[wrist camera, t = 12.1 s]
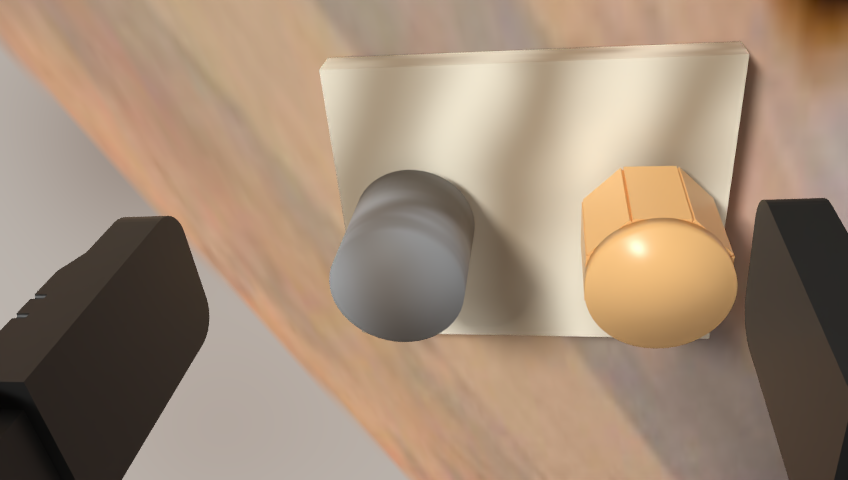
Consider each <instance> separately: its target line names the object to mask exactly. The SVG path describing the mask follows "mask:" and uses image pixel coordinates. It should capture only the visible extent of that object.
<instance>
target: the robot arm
mask: <svg viewBox="0 0 848 480" xmlns="http://www.w3.org/2000/svg"><path fill="white" fill-rule="evenodd" d="M208 326H209V308H208V302H207V298H206V296H205V292H204V290H203V287H202V284H201V281H200V278H199V275H198V272H197V269H196V266H195V263H194V260H193V257H192V254H191V251H190V248H189V245H188V242H187V239H186V236H185V233H184V231H183V228H182V226H181V224H180V223H179V222H178V220H176V219H175V218H174V217H172V216H152V217H123V218H120V219H118V220H117V221H116V222H114V223H113V225H112V226H111V227H110V228H109V229H108V230H107V231H106V232H105V233H104V234H103V235H102V236H101V237H100V238H99V240H98V241H97V242H96V243H95V244H94V245H93V246H92V247H91V248H90V249H89V250H88V251H87V252H86V253H85V254H83V255H82V256H80V257H78V258H77V259H75V260H74V261H72V262H71V263H69V264H68V265H66V266H64V267H63V268H61V269H60V270H58V271H57V272H56V273H55V274H54V275H53V276H52V277H51V278H50V279H49V280H48V281H47V283H46V284H44V285H43V286H42V287H41V289H40V290H39V291H38V292H37V293H36V294H35V299H30V300H29V301H28V302H27V303H26V304H25V305H24V306H23V307H22V308H21V309H20V311H19V312H18V313H17V318H14V319H11V320H10V321H9V322H8V323H7V324H6V325H5V326H4V327H3V328H2V330H0V480H122V478H123V477H124V475H125V473H126V472H127V470H128V468H129V466H130V465H131V463H132V462H133V460H134V458H135V456H136V455H137V453H138V451H139V450H140V448H141V446H142V445H143V443H144V442H145V440H146V438H147V437H148V435H149V433H150V431H151V430H152V428H153V427H154V425H155V423H156V422H157V420H158V418H159V417H160V415H161V413H162V412H163V410H164V408H165V406H166V405H167V403H168V401H169V400H170V398H171V396H172V395H173V393H174V391H175V390H176V388H177V386H178V385H179V383H180V381H181V380H182V378H183V376H184V375H185V373H186V371H187V370H188V368H189V366H190V364H191V363H192V361H193V360H194V358H195V356H196V354H197V353H198V351H199V350H200V348H201V346H202V345H203V343H204V341H205V338H206V335H207V332H208ZM745 327H746V335H747V341H748V346H749V349H750V353H751V356H752V359H753V363H754V366H755V369H756V373H757V376H758V379H759V382H760V386H761V389H762V392H763V396H764V399H765V402H766V405H767V409H768V412H769V415H770V419H771V422H772V425H773V428H774V432H775V435H776V438H777V442H778V445H779V448H780V451H781V455H782V458H783V461H784V465H785V468H786V471H787V474H788V478H789V480H848V233H847V231H846V229H845V227H844V226H843V224H842V222H841V220H840V219H839V217H838V215H837V213H836V212H835V210H834V208H833V206H832V205H831V203H830V202H829V200H827V199H825V198H811V199H777V200H762V201H761V202H760V203H759V205H758V208H757V212H756V217H755V225H754V233H753V241H752V249H751V257H750V265H749V274H748V282H747V290H746V299H745Z"/></svg>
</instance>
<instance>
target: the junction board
mask: <svg viewBox="0 0 848 480" xmlns="http://www.w3.org/2000/svg"><path fill="white" fill-rule="evenodd" d="M748 60H749V53H748V51H747V50H746V48H745V47H744V45H743V44H742V42H716V43H690V44H665V45H640V46H615V47H590V48H564V49H539V50H514V51H489V52H463V53H438V54H413V55H388V56H363V57H337V58H327V60H326V61H325V63H324V64H323V65H322V67H321V68H320V70H319V72H320V78H321V84H322V90H323V96H324V102H325V108H326V114H327V120H328V126H329V132H330V139H331V145H332V151H333V157H334V163H335V169H336V175H337V181H338V187H339V193H340V199H341V205H342V212H343V218H344V224H345V230H346V233H345V235H344V237H343V240H342V242H341V245H340V247H339V249H338V252H337V254H336V257H335V259H334V261H333V264H332V266H331V271H330V280H329V282H330V289H331V293H332V296H333V299H334V301H335V303H336V305H337V307H338V308H339V310H340V311H341V312H342V314H343V315H344V316H345V317H346V318H347V319H348V320H349V321H350V322H351V323H353V324H354V325H355V326H356V327H358V328H360V329H361V330H362V332H367V333H368V334H370V335H373V336H376V337H378V338H382V339H385V340H390V341H398V342H412V341H420V340H424V339H428V338H430V337H433V336H435V335H437V334H477V335H529V336H581V337H611V336H610V335H609V334H607V333H606V332H604V331H603V330H602V329H601V328H600V327H599V326H598V325H597V324H596V322H595V321H594V320H593V318H592V317H591V315H590V313H589V311H588V308H587V306H586V302H585V301H584V287H583V272H582V256H581V210H582V202H583V199H584V198H585V197H586V196H588V195H589V194H590V193H591V192H592V191H594V190H595V189H596V188H597V187H598V186H600V185H601V184H602V183H603V182H604V181H605V180H607V179H608V178H609V177H610V176H611V175H613V174H614V173H615V172H616V171H617V170H618V169H620V168H621V169H622V170H623V167H636V166H677V168H679V167H680V168H681V169H682V170H683V171H684V172H685V173H686V174H688V175H689V176H690V177H691V178H692V179H693V180H694V181H695V182H696V183H697V184H698V185H699V186H701V187H702V188H703V189H704V190H705V191H706V192H707V193H708V194H709V195H710V196H711V197H712V198H713V199H714V201H715V204H716V207H717V210H718V212H719V215H720V218H721V221H722V223H723V226H724V229H725V223H726V216H727V208H728V201H729V194H730V187H731V180H732V173H733V166H734V159H735V152H736V145H737V138H738V131H739V124H740V117H741V110H742V103H743V96H744V89H745V81H746V74H747V67H748ZM709 335H710V332H709V333H708V334H706V335H705V336H703V337H701V338H699V339H709Z"/></svg>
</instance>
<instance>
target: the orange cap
mask: <svg viewBox="0 0 848 480" xmlns="http://www.w3.org/2000/svg"><path fill="white" fill-rule="evenodd" d="M581 256H582V272H583V287H584V301H585V302H586V306H587V308H588V311H589V313H590V315H591V317H592V318H593V320H594V321H595V322H596V324H597V325H598V326H599V327H600V328H601V329H602V330H603V331H604V332H606V333H607V334H609V335H610V336H611V337H613V338H615V339H617V340H619V341H621V342H624V343H626V344H630V345H633V346H638V347H643V348H669V347H675V346H680V345H684V344H687V343H690V342H692V341H695V340H697V339H699V338H701V337H703V336H705V335H706V334H708V333H709V332H711V331H712V330H713V329H715V328H716V327H717V326H718V325H719V324H720V323H721V322H722V321H723V320H724V319H725V318H726V316H727V315H728V313H729V312H730V310H731V308H732V306H733V304H734V302H735V298H736V294H737V276H736V272H735V269H734V266H733V265H734V258H735V256H734V253H733V251H732V248H731V245H730V242H729V240H728V237H727V234H726V232H725V229H724V226H723V223H722V221H721V218H720V215H719V212H718V210H717V207H716V204H715V201H714V199H713V198H712V197H711V196H710V195H709V194H708V193H707V192H706V191H705V190H704V189H703V188H702V187H701V186H699V185H698V184H697V183H696V182H695V181H694V180H693V179H692V178H691V177H690V176H689V175H688V174H686V173H685V172H684V171H683V170H682V169H681V168H680V167H679V168H677V166H636V167H623V170H622V169H621V168H620V169H618V170H617V171H616V172H615V173H614V174H613V175H611V176H610V177H609V178H608V179H607V180H605V181H604V182H603V183H602V184H601V185H600V186H598V187H597V188H596V189H595V190H594V191H592V192H591V193H590V194H589V195H588V196H586V197H585V198H584V199H583V202H582V210H581Z"/></svg>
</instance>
